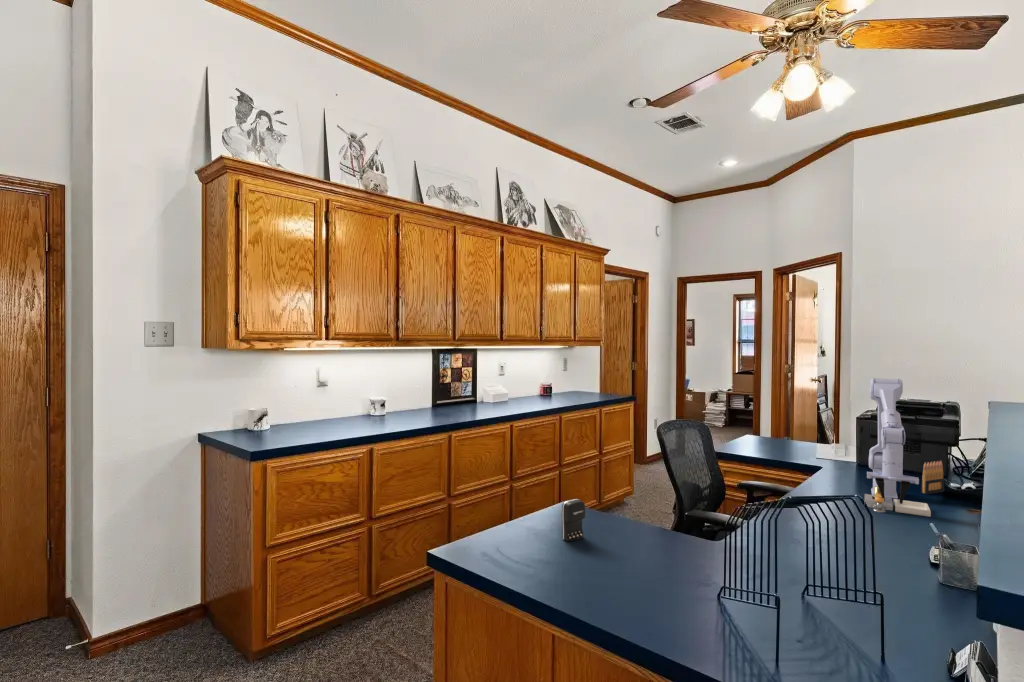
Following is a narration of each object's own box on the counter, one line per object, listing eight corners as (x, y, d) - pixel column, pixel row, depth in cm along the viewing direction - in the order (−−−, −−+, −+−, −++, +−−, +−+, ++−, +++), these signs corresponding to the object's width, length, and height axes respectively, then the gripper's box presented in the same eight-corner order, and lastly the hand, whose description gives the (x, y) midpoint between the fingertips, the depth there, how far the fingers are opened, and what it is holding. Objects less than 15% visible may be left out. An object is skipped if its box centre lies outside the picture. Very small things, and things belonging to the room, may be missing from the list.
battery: (569, 543, 158) (569, 504, 158) (561, 539, 161) (561, 501, 161) (587, 538, 162) (587, 500, 161) (579, 534, 165) (579, 497, 165)
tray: (893, 504, 194) (893, 499, 194) (927, 508, 189) (927, 503, 188) (895, 511, 185) (895, 506, 185) (930, 516, 180) (930, 511, 180)
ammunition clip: (925, 494, 205) (926, 463, 205) (920, 493, 207) (921, 461, 206) (944, 491, 209) (945, 460, 208) (939, 490, 210) (939, 459, 210)
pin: (874, 504, 194) (874, 486, 194) (882, 505, 192) (882, 487, 192) (874, 505, 192) (874, 487, 191) (882, 507, 190) (882, 488, 190)
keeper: (884, 502, 184) (884, 499, 184) (874, 501, 186) (875, 498, 186) (882, 497, 190) (883, 494, 190) (874, 496, 191) (874, 493, 191)
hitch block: (864, 500, 198) (864, 491, 197) (891, 504, 193) (891, 495, 193) (865, 510, 187) (865, 501, 187) (893, 514, 182) (893, 505, 182)
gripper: (867, 462, 186) (867, 501, 187) (920, 467, 179) (919, 508, 179) (867, 457, 192) (866, 495, 193) (917, 463, 185) (917, 502, 185)
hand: (892, 501), depth 186 cm, fingers open, 4 cm apart
